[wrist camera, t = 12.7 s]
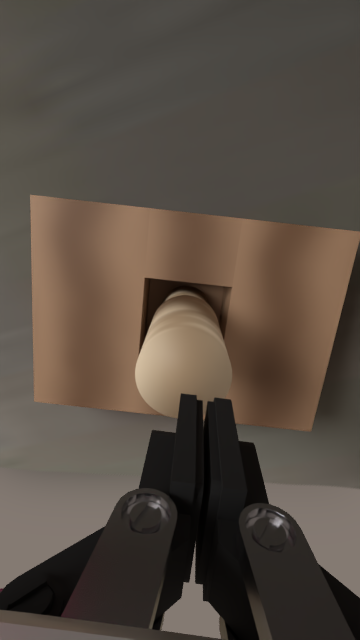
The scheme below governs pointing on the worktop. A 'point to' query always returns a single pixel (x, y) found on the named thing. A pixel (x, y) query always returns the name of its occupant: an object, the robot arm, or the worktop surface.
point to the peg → (183, 354)
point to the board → (173, 271)
